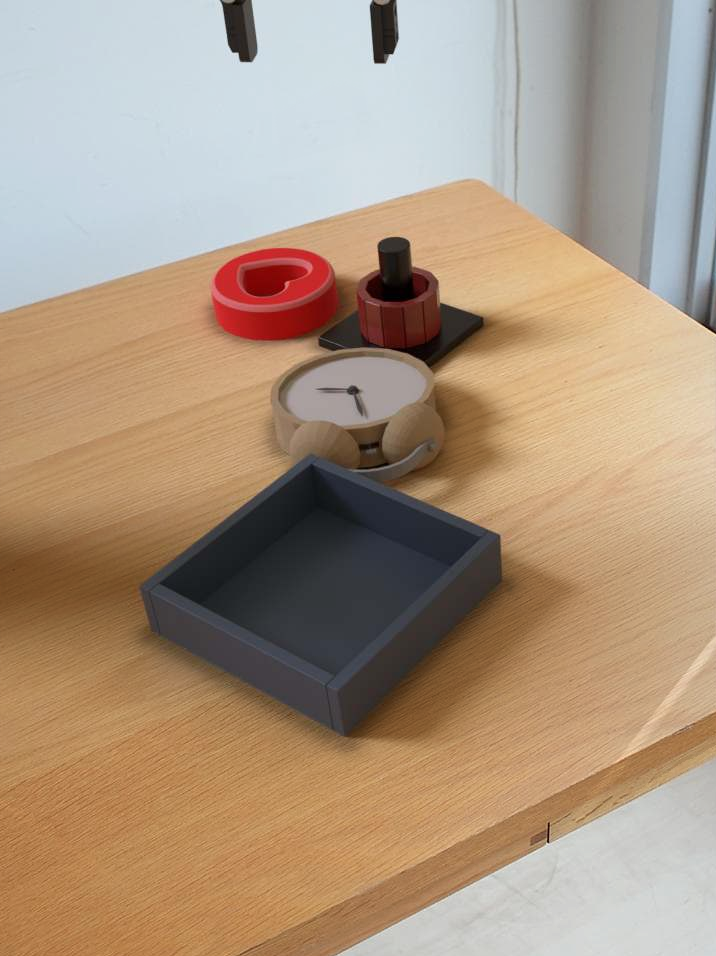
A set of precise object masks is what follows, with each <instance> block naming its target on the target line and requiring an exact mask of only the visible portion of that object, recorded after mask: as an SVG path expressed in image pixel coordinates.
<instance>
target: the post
mask: <svg viewBox="0 0 716 956" xmlns="http://www.w3.org/2000/svg"><path fill="white" fill-rule="evenodd" d="M376 246H377V247H376V249H377V257H378V267H379V268H378V269H380V279H381V289H382V299H383V302H404V301H408V300H411V299H415V296H414V284H413V271H412V266H413V260H412V259H413V258H412V250H411V249H412V248H411V242H410V241H409V239H407V238H405V237H402V236H390V237H389V236H388V237H385V238H382V239H381V240H379V242H378V243H377V245H376ZM440 308H441V327H440V331H439V333H438V334H437V335H436V336H435V337H433V338H432V339H431V340H429V341H428V342H425V343H424V344H420V345H417V346H413V347H409V348H407V347H406V348H386V347H381V346H378V345H376V344H373V343H370V342H369V341H367V339H366V338H365V337H364V335H363V334H362V333H361V328H360V319H359V310H358V309H356V310H354V312H352V313H351V314H349V315H348V316H346V317H345V318H344V319H342V320H340V321H339V322H338V323H336V324H335V325H333V326H332V327H330V328H329V329H327V330H326V331H325V332H323V333H322V334H321V335H319V336H318V337H317V340H318V341H317V342H318V346H319V347H321V348H323V349H325V350H326V349H327V350H329V351H330V352H333V351H337V350H343V349H353V348H381V349H390V350H394V351H398V352H403V353H407V354H409V355H411V356H413V357H415V358H417V359H419V360H421V361H423V362H424V363H425V364H426V365H427V366H428V368H429V369H431V368H432V367H433V366H434V365H436V364H437V363H438V362H440V360H442V359H443V358H444V357H446V356H447V355H448V354H450V353H451V352H453V351H454V350H455V349H456V348H458V347H459V346H460V345H461V344H463V343H464V342H465V341H466V340H468V339H469V338H470V337H472V336H473V335H474V334H475V333H477V332H478V331H479V330H480V329H482V328H483V327H484V326H485V322H484V321H485V320H484V316H482V315H478V314H475V313H472V312H470V311H466V310H463V309H461V308H457V307H455V306H452V305H449V304H446V303H443V302H440Z"/></svg>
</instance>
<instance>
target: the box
mask: <svg viewBox="0 0 716 956" xmlns="http://www.w3.org/2000/svg"><path fill="white" fill-rule="evenodd" d="M502 570H503V565H502V542H501V534H500V533H497V532H495V531H492V530H490V529H488V528H485V527H484V526H481V525H478V524H477V523H474V522H472V521H470V520H468V519H465V518H463V517H460V516H458V515H456V514H453V513H451V512H448V511H446V510H443V509H442V508H439V507H437V506H434V505H432V504H429V503H427V502H426V501H423V500H420V499H418V498H416V497H413V496H412V495H409V494H406V493H404V492H402V491H400V490H397V489H395V488H392V487H391V486H388V485H387V484H386V485H385V484H383V483H382V482H381V483H379V482H376V481H374V480H372V479H369V478H367V477H365V476H362V475H360V474H358V473H355V472H353V471H351V470H348V469H346V468H344V467H341V466H339V465H337V464H334V463H332V462H330V461H327V460H325V459H323V458H320V457H318V456H316V455H313V454H311V453H310V454H309V455H308V456H306V457H305V458H304V459H302V460H301V461H300V462H299V463H297V464H296V465H295V466H293V465H292V467H290V468H289V469H288V470H287V471H286V472H284V473H283V474H282V475H281V476H279V477H278V478H277V479H275V480H274V481H273V482H272V483H270V484H268V485H267V486H266V487H264V489H262V490H261V491H259V492H258V493H257V494H256V495H254V496H253V497H251V499H249V500H248V501H246V503H244V504H243V505H242V506H240V507H239V508H238V509H237V510H235V511H234V512H232V513H231V514H230V515H228V516H227V517H226V518H225V519H223V520H222V521H221V522H220V523H218V524H217V525H216V526H214V527H213V528H212V529H210V530H209V531H207V532H206V533H205V534H204V535H203V536H201V537H200V538H199V539H198V540H196V541H195V542H193V543H192V544H191V545H190V546H189V547H187V548H186V549H185V550H183V551H182V552H180V553H179V555H177V556H176V557H174V558H173V559H172V560H171V561H169V562H168V563H166V564H165V565H163V566H162V567H161V568H160V569H159V570H158V571H156V572H155V573H154V574H153V575H151V576H150V577H149V578H147V579H146V580H145V581H143V582H142V583H141V584H139V591H140V594H141V598H142V601H143V606H144V609H145V612H146V616H147V619H148V623H149V627H150V630H151V632H153V633H154V634H156V635H158V636H160V637H161V638H164V639H165V640H167V641H169V642H171V643H173V644H175V645H176V646H178V647H180V648H181V649H184V650H185V651H187V652H189V653H190V654H193V655H194V656H196V657H198V658H200V659H201V660H203V661H206V662H207V663H209V664H210V665H213V666H214V667H216V668H218V669H220V670H222V671H224V673H227V674H229V675H231V676H233V677H234V678H236V679H238V680H240V681H242V682H243V683H245V684H247V685H249V686H250V687H252V688H255V689H256V690H258V691H260V692H262V693H263V694H265V695H267V696H269V697H270V698H273V699H274V700H276V701H278V702H280V703H281V704H283V705H285V706H287V707H289V708H290V709H292V710H294V711H296V712H298V713H300V714H301V715H303V716H305V717H307V718H309V719H311V720H312V721H314V722H316V723H318V724H320V725H322V726H324V727H325V728H327V729H329V730H331V731H332V732H334V733H335V734H338V735H340V737H343V738H346V737H348V735H349V734H350V733H352V731H353V730H354V729H355V728H356V727H357V726H358V725H359V724H360V723H361V722H363V720H364V719H365V718H367V716H368V715H369V714H370V713H371V712H372V711H373V710H375V708H376V707H378V705H379V704H380V703H381V702H382V701H383V700H384V699H385V698H386V697H387V696H388V695H389V694H390V693H391V692H392V691H394V689H396V687H397V686H398V685H399V684H400V683H401V682H402V681H403V680H404V679H405V678H406V677H407V676H408V675H409V674H410V673H411V672H412V671H413V670H414V669H415V668H416V667H417V666H418V665H419V664H420V663H421V662H422V661H423V660H424V659H425V658H426V657H427V656H428V655H429V654H430V653H431V652H432V651H433V650H434V649H435V648H436V647H437V646H439V644H440V643H442V641H443V640H444V639H445V638H446V637H448V635H449V634H450V633H451V632H452V631H453V630H454V629H455V628H456V627H458V625H459V624H460V623H461V622H462V621H463V620H464V619H465V618H466V617H468V615H470V613H471V612H472V611H473V610H474V609H475V608H476V607H477V606H478V605H479V604H480V603H481V602H482V601H483V600H484V599H485V598H486V597H487V596H488V595H489V594H490V593H491V592H492V591H493V590H494V589H495V588H496V587H497V586H498V585H499V584H500V583H501V582H502V581H503V571H502Z"/></svg>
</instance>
